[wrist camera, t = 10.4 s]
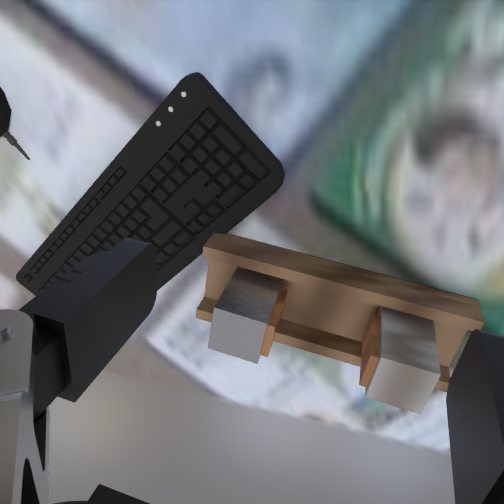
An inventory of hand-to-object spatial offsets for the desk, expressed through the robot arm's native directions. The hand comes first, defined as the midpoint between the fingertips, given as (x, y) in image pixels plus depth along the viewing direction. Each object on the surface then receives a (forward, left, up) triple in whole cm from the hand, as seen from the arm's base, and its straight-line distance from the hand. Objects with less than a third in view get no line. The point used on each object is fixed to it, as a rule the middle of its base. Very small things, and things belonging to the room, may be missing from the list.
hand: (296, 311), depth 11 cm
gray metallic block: (+4, +16, -23) cm, 28 cm away
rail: (-2, +16, -24) cm, 28 cm away
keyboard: (+16, +14, -25) cm, 33 cm away
